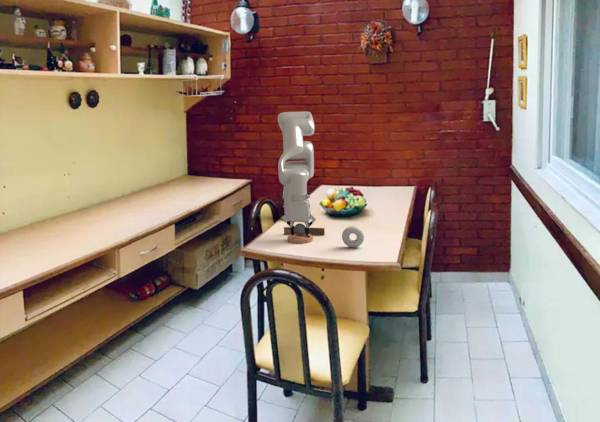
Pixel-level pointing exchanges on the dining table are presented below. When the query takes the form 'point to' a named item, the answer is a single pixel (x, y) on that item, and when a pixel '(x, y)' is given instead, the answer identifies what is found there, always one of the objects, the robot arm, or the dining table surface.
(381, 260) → the dining table surface
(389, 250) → the dining table surface
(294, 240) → the bowl
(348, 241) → the donut
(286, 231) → the wall
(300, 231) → the ball
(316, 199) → the dining table surface
